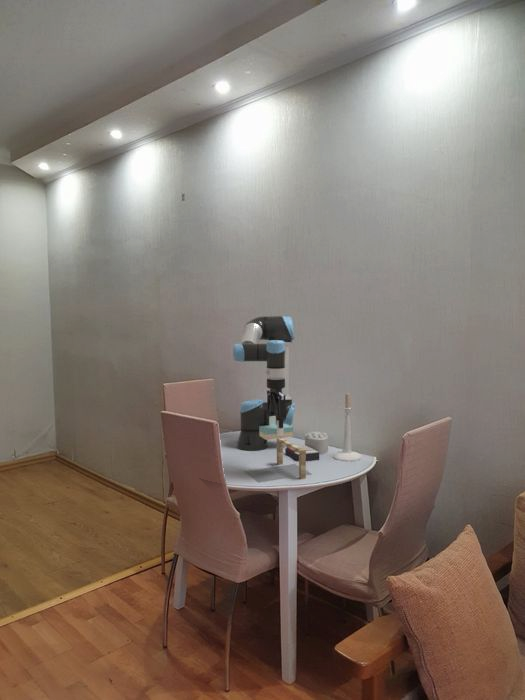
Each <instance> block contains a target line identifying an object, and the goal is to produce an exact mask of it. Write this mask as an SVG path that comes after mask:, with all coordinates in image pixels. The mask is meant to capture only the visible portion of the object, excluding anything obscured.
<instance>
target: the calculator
mask: <svg viewBox="0 0 525 700" xmlns="http://www.w3.org/2000/svg"><path fill="white" fill-rule="evenodd" d="M297 446H298V447H300V448H302V449H304V450H306V462H313V461H320V454H319V452H318V451H315V450H314V449H312V448H310V447H308V446H305V445H297ZM285 455H286V456H287V457H290V458H291V459H293V460H294V461H295V462H299V453H297V452H296V451H294V450H292V449H290V448H288V447H285Z"/></svg>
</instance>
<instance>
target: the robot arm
mask: <svg viewBox="0 0 525 700" xmlns="http://www.w3.org/2000/svg"><path fill="white" fill-rule="evenodd" d="M259 340H260V341H262V340H263V341H266V343H259V342H260V341H259ZM294 340H295V332H294V323H293V319H292V317H290V316H284V315H280V316H279V315H278V316H277V315H276V316H275V315H274V316H258V317H254V318H253V319H251V320H249V321H248V322H246V323H245V325H244V326H243V329H242V339H241V341H240V342H239V343H235V344H233V348H232V355H233V360H234V361H235V362H241V363H243V362H266V370H265V373H266V377H267V379H266V388H267V389H269V390H267V391H266V396H267V398H266V401H265V400H264V399H263V398H255V399H249V400H245V401H243V402H241V404H240V411H239V414H240V433H239V437H238V439H237V442H236V444H237V449H239V450H241V451H242V450H243V451H261V450H265V449H267V448H268V446H269V443H268V442H269V441H268V440H265V439H264V438H262V437H260V436H259V426H268V425H277V436H284V431H283V424H287V425H290V426H292V425H293V421H294V415H295V414H294V413H295V405H296V403H295V402H294V401H293V399H292V397H291V396H290V393H289V392H290V391H289V390H290V387H289V386H290V383H289V382H290V378H289V377H290V375H289V374H290V371H289V370H290V367H289V366H290V364H289V363H290V362H289V361H290V360H289V358H290V357H289V356H290V355H289V353H290V352H289V351H290V350H289V349H290V348H289V347H290V346H291V345H292V344H293V342H292V341H294Z"/></svg>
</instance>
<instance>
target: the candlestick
mask: <svg viewBox="0 0 525 700" xmlns="http://www.w3.org/2000/svg"><path fill="white" fill-rule="evenodd" d="M344 394H345V395H344V396H345V397H344V398H345V400H344V401H345V403H344V404H345V405H344V406H345V407H343V409H344V413H345V415H344V417H345V418H344V419H345V420H344V431H343V432H344V433H343V434H344V436H343V449H342V451H338V452H335V453H334V454H333V456H332V458H333V459H334V460H337V461H339V460H340V462H347V461H351V462H357V461H356V460H358V461H360V460H359V459H361V458H362V455H361V454H359V453H358V452H356V451H352V439H351V438H352V437H351V436H352V435H351V417H350V416H351V415H350V413H351V409H352V407H351V404H350V403H351V402H350V401H351V393H349V392H347V393H344ZM362 459H363V458H362ZM362 459H361V460H362Z"/></svg>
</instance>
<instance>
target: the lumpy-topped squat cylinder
mask: <svg viewBox="0 0 525 700" xmlns="http://www.w3.org/2000/svg"><path fill="white" fill-rule="evenodd" d="M304 446H308V447H310V448H312V449H314V450H315V451H318V452H319V455H326V454H328V452H329V436H328V434H327V433H326V432H321V431H320V430H319V431H309V432H308V433H305V434H304ZM325 453H326V454H325Z"/></svg>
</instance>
